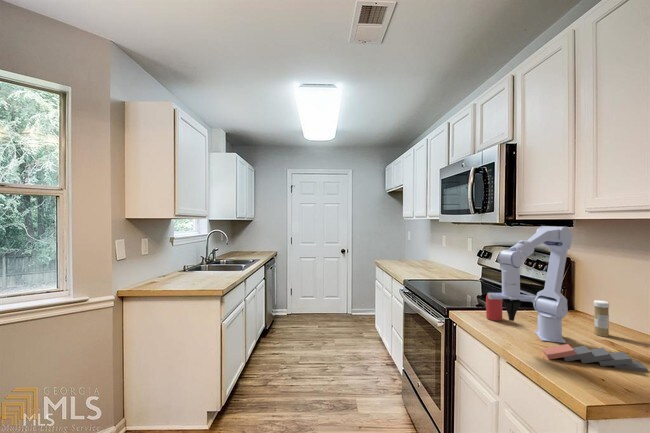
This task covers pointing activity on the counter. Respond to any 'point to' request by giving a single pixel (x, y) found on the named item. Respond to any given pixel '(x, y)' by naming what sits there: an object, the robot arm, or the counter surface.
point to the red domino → (558, 351)
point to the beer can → (493, 308)
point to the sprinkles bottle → (601, 318)
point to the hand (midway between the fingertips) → (511, 319)
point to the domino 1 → (579, 354)
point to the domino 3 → (616, 359)
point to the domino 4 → (632, 366)
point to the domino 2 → (597, 356)
